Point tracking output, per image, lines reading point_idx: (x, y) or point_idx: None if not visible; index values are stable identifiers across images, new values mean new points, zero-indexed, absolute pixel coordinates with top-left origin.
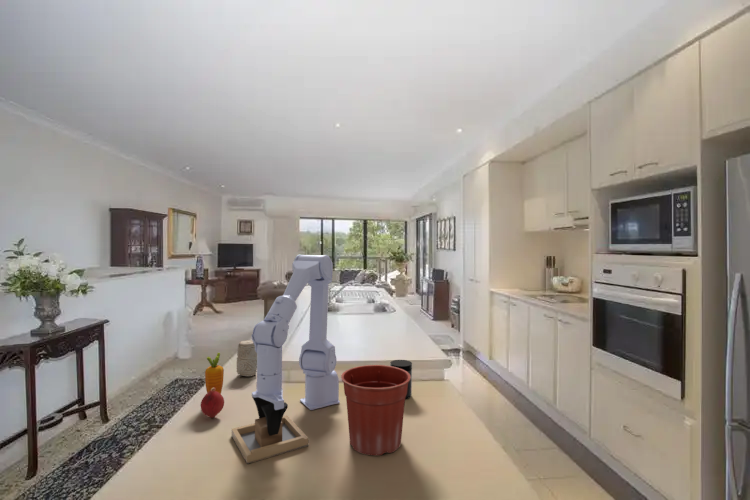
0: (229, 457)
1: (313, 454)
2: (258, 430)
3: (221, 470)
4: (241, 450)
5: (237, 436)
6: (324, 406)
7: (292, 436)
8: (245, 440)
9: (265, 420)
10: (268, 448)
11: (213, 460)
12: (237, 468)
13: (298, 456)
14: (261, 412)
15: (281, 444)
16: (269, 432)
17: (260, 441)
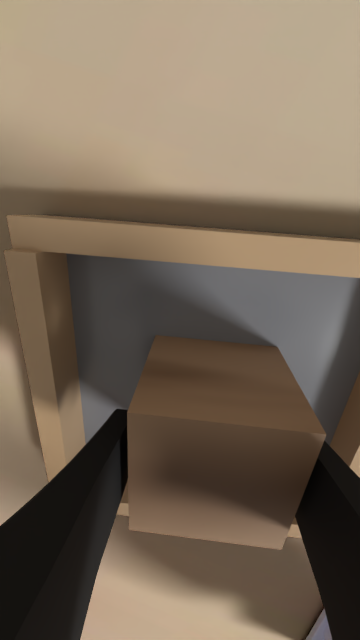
0: (170, 140)
1: (7, 459)
2: (207, 385)
3: (34, 29)
4: (163, 225)
5: (319, 249)
6: (316, 622)
7: None
8: (290, 295)
9: (240, 479)
10: (27, 350)
11: (199, 3)
12: (18, 146)
13: (14, 420)
14: (346, 529)
15: (37, 414)
16: (105, 424)
17: (163, 350)
